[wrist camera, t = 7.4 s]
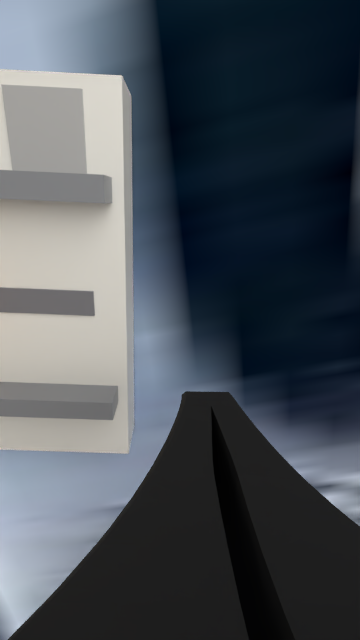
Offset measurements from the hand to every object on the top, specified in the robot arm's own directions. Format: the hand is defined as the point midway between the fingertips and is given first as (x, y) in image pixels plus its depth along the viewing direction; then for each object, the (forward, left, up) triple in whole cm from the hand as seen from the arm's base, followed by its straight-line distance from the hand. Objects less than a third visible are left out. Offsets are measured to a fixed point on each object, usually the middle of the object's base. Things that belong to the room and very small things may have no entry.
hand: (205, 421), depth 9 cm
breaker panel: (+1, +10, -9) cm, 14 cm away
